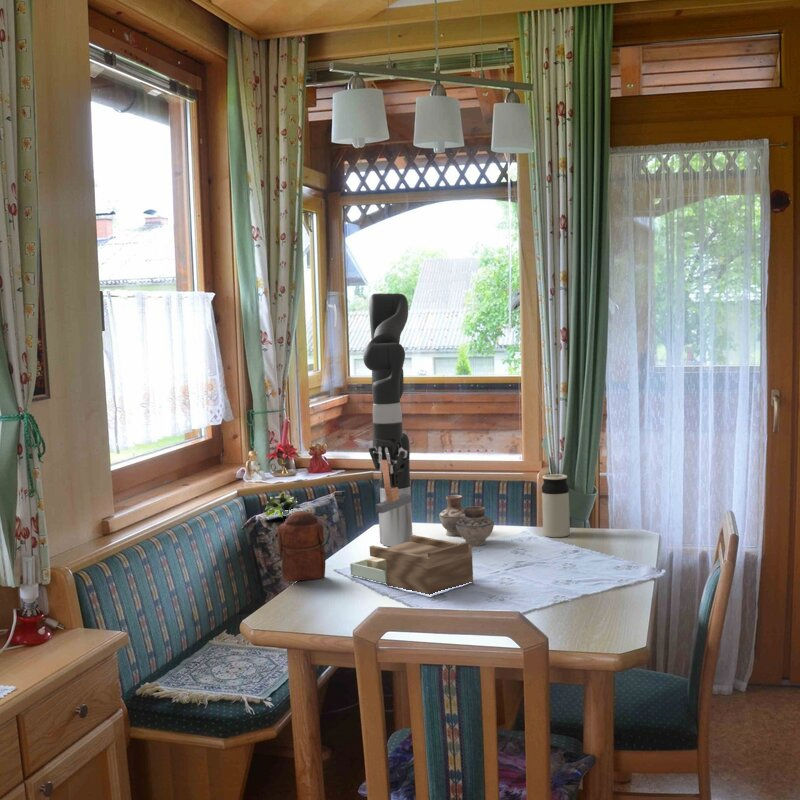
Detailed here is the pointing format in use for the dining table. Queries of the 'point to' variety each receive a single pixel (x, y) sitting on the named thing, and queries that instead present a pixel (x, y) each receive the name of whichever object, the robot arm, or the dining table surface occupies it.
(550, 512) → the travel mug
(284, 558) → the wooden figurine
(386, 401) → the robot arm
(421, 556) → the wooden box
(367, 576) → the sage green tray
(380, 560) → the birch block
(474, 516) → the pottery
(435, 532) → the dining table surface
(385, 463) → the scraper
